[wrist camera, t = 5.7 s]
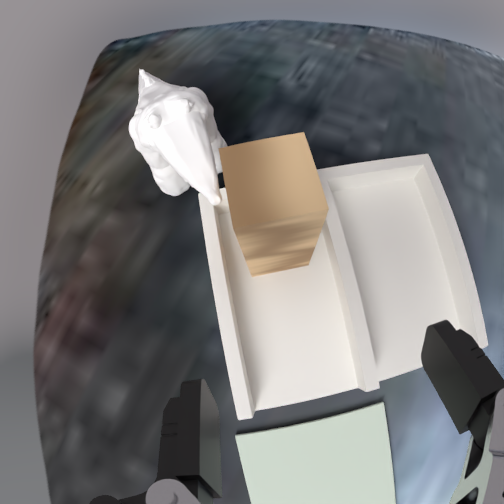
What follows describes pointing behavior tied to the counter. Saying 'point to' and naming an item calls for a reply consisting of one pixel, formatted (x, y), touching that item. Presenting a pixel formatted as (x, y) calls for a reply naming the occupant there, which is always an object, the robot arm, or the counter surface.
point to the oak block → (274, 201)
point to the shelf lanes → (344, 288)
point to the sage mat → (321, 461)
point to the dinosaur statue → (178, 137)
